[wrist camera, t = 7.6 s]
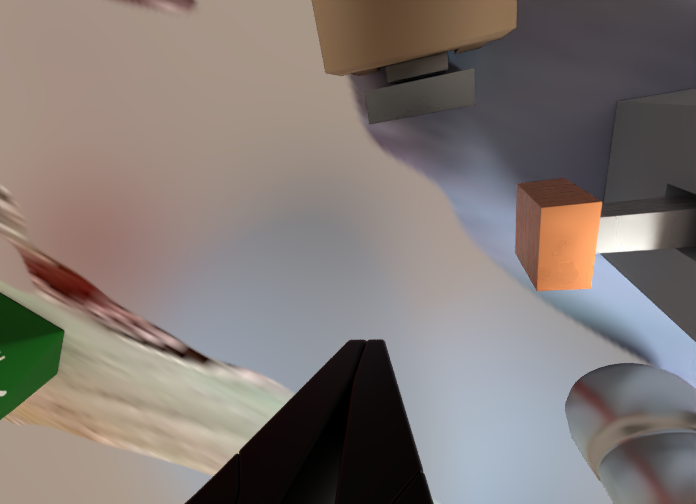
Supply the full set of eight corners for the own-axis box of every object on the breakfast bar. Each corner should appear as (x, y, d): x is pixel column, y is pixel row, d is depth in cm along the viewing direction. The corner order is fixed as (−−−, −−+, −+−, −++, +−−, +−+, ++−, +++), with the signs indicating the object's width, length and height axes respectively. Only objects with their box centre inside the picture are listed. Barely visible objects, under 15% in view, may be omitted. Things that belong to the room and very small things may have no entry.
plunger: (753, 154, 11) (860, 174, 8) (727, 237, 12) (813, 278, 9) (516, 183, 13) (541, 208, 10) (515, 252, 14) (536, 290, 11)
